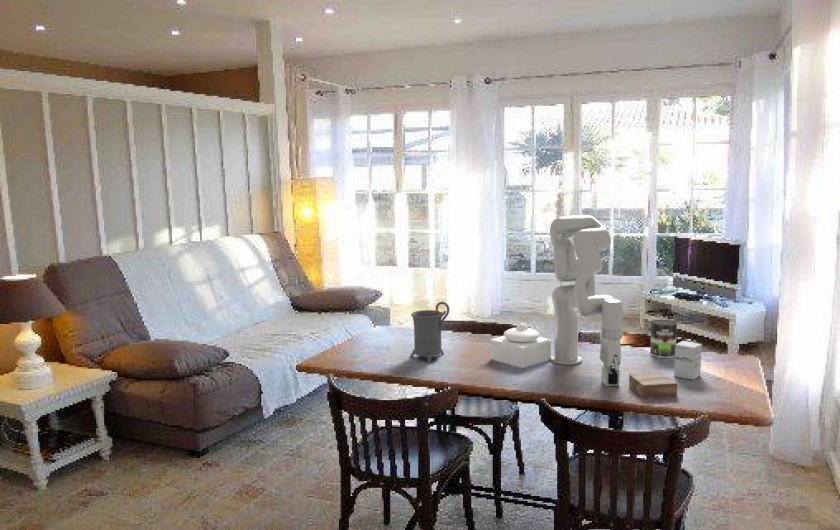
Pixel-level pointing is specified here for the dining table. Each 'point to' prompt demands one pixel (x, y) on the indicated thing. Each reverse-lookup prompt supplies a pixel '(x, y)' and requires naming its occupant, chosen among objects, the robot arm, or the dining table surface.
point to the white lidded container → (521, 347)
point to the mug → (428, 331)
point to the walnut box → (653, 385)
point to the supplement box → (687, 360)
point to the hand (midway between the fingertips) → (610, 380)
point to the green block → (605, 376)
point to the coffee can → (663, 338)
